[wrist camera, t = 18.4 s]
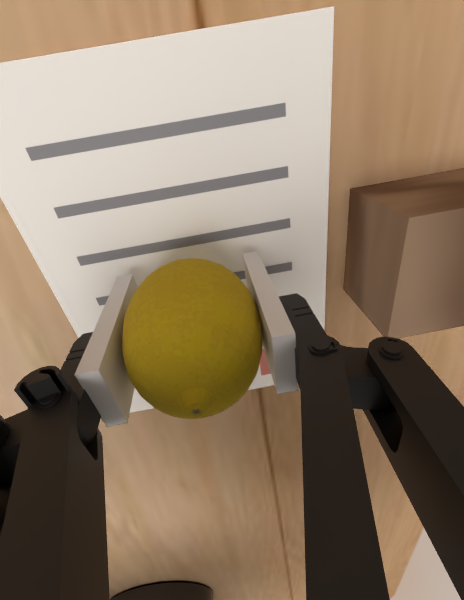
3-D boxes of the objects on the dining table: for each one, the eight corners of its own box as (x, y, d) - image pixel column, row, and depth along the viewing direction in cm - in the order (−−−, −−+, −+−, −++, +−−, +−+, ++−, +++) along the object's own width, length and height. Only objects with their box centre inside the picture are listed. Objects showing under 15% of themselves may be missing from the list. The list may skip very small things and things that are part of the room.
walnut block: (342, 288, 19) (387, 340, 14) (349, 188, 15) (409, 218, 11) (437, 270, 19) (508, 317, 15) (463, 167, 15) (565, 189, 11)
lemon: (116, 290, 15) (62, 430, 9) (183, 208, 14) (179, 303, 7) (200, 340, 18) (207, 479, 11) (266, 276, 16) (322, 395, 9)
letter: (121, 412, 22) (120, 415, 22) (-64, 74, 11) (-69, 74, 11) (322, 373, 22) (323, 376, 22) (332, 7, 11) (334, 5, 11)
